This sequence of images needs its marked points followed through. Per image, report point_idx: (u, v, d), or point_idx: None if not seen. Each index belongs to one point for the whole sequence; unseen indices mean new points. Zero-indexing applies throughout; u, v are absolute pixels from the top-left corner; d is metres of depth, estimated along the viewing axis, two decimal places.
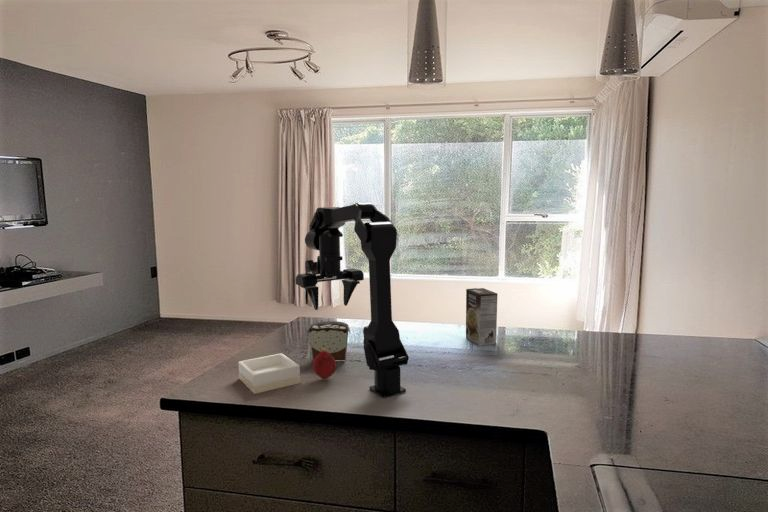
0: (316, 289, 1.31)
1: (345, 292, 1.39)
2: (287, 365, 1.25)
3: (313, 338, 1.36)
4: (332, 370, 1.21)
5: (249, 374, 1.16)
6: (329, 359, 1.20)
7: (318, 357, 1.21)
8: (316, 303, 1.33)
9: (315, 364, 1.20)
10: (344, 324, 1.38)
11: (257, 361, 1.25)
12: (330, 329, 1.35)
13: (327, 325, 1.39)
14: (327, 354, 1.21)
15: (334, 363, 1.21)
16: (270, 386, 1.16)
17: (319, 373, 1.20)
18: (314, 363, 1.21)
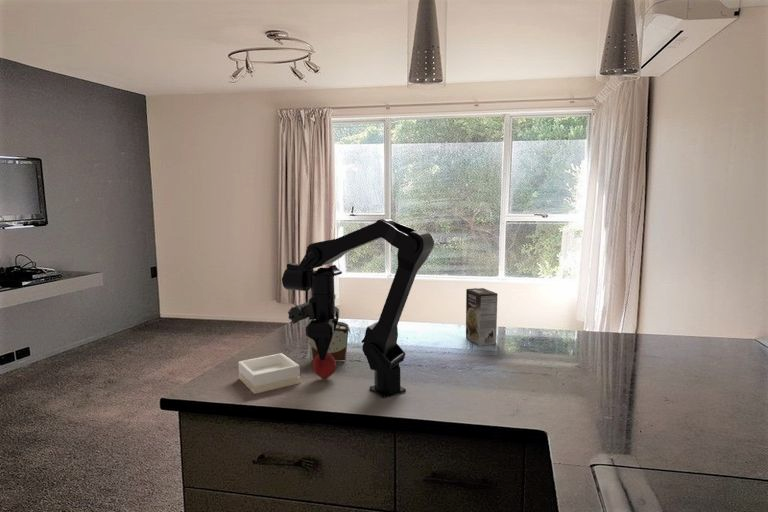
0: None
1: None
2: (287, 365, 1.25)
3: None
4: (332, 370, 1.21)
5: (249, 374, 1.16)
6: (329, 359, 1.20)
7: (318, 357, 1.21)
8: None
9: (315, 364, 1.20)
10: (344, 324, 1.38)
11: (257, 361, 1.25)
12: None
13: None
14: (327, 354, 1.21)
15: (334, 363, 1.21)
16: (270, 386, 1.16)
17: (319, 373, 1.20)
18: (314, 363, 1.21)
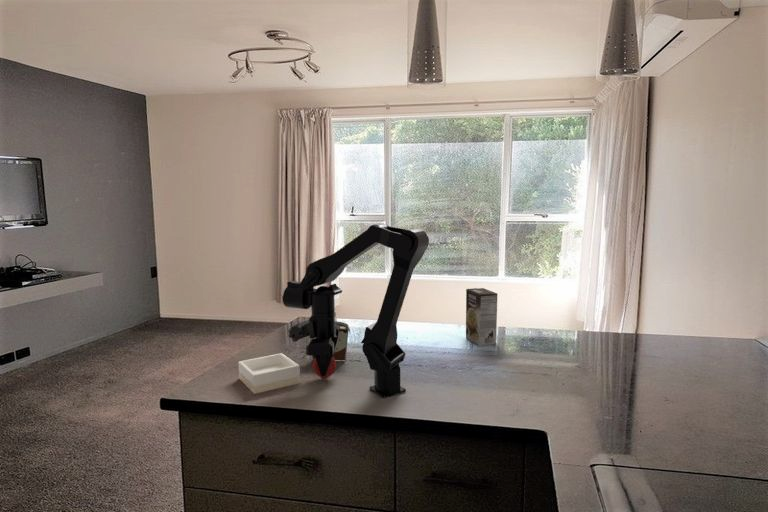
0: None
1: None
2: (287, 365, 1.25)
3: (313, 338, 1.36)
4: (332, 370, 1.21)
5: (249, 374, 1.16)
6: None
7: None
8: None
9: (315, 364, 1.20)
10: (344, 324, 1.38)
11: (257, 361, 1.25)
12: None
13: None
14: None
15: (334, 363, 1.21)
16: (270, 386, 1.16)
17: (319, 373, 1.20)
18: (314, 363, 1.21)
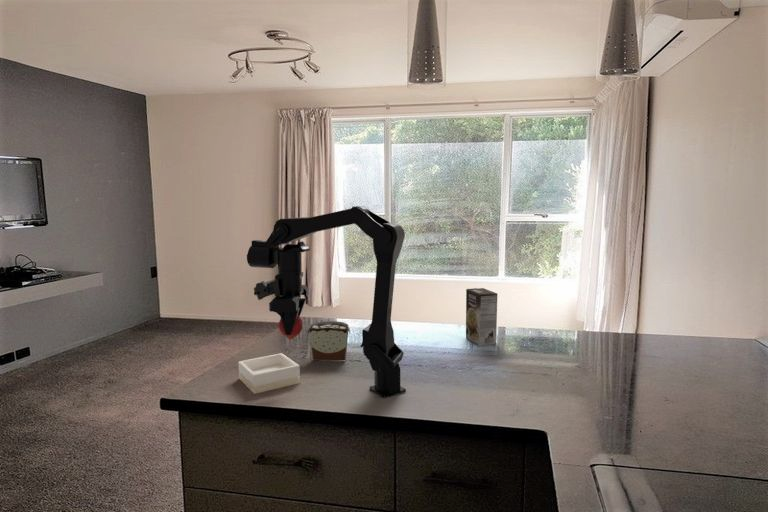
0: (298, 310, 1.16)
1: None
2: (287, 365, 1.25)
3: (313, 338, 1.36)
4: (298, 329, 1.19)
5: (249, 374, 1.16)
6: None
7: None
8: None
9: (281, 323, 1.19)
10: (344, 324, 1.38)
11: (257, 361, 1.25)
12: (330, 329, 1.35)
13: (327, 325, 1.39)
14: None
15: (300, 323, 1.20)
16: (270, 386, 1.16)
17: (284, 332, 1.19)
18: (280, 322, 1.19)
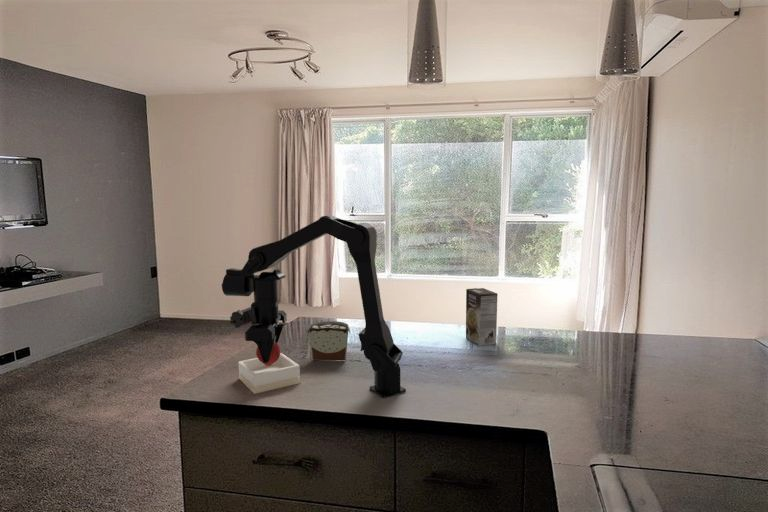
0: (275, 338, 1.16)
1: None
2: (287, 365, 1.25)
3: (313, 338, 1.36)
4: (275, 357, 1.19)
5: (249, 374, 1.16)
6: None
7: None
8: (270, 354, 1.18)
9: (258, 351, 1.19)
10: (344, 324, 1.38)
11: (257, 361, 1.25)
12: (330, 329, 1.35)
13: (327, 325, 1.39)
14: None
15: (277, 350, 1.20)
16: (270, 386, 1.16)
17: (262, 360, 1.19)
18: (257, 350, 1.20)
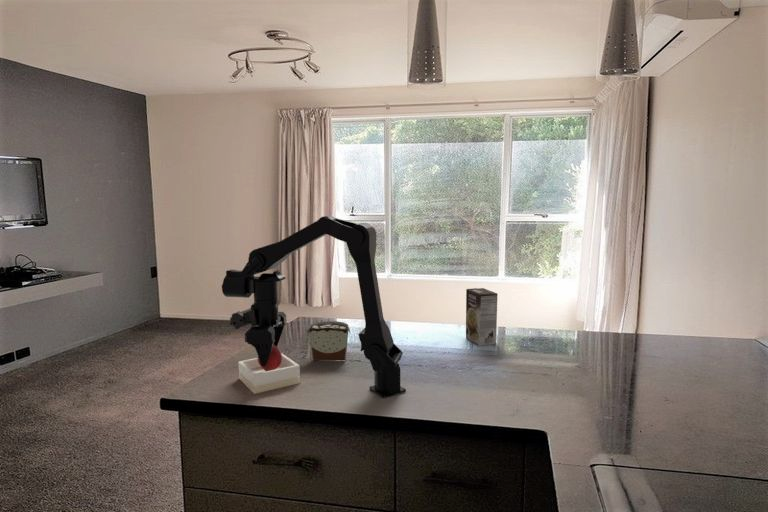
0: (273, 341, 1.15)
1: None
2: (287, 365, 1.25)
3: (313, 338, 1.36)
4: (276, 363, 1.20)
5: (249, 374, 1.16)
6: (274, 352, 1.20)
7: None
8: (268, 358, 1.16)
9: None
10: (344, 324, 1.38)
11: (257, 361, 1.25)
12: (330, 329, 1.35)
13: (327, 325, 1.39)
14: (274, 347, 1.21)
15: (279, 357, 1.21)
16: (270, 386, 1.16)
17: None
18: None
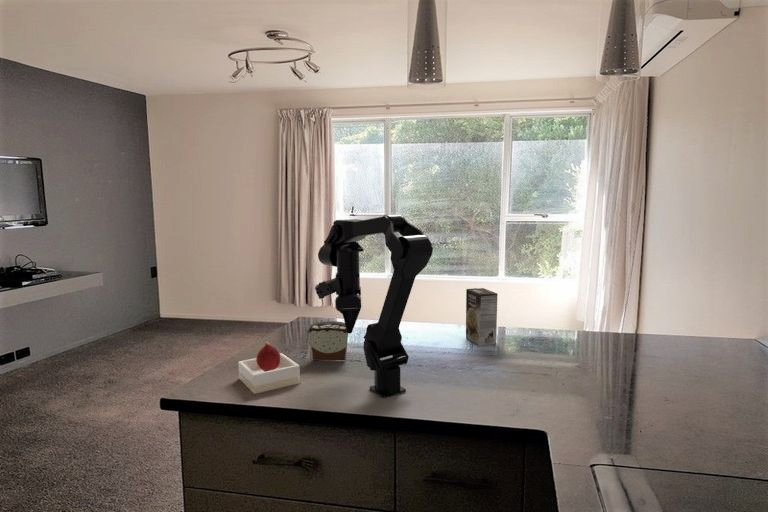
0: None
1: None
2: (287, 365, 1.25)
3: (313, 338, 1.36)
4: (275, 364, 1.20)
5: (249, 374, 1.16)
6: (272, 353, 1.19)
7: (261, 351, 1.20)
8: None
9: (258, 358, 1.19)
10: (344, 324, 1.38)
11: None
12: (330, 329, 1.35)
13: (327, 325, 1.39)
14: (271, 347, 1.20)
15: (278, 357, 1.20)
16: (270, 386, 1.16)
17: (262, 367, 1.19)
18: (257, 357, 1.20)
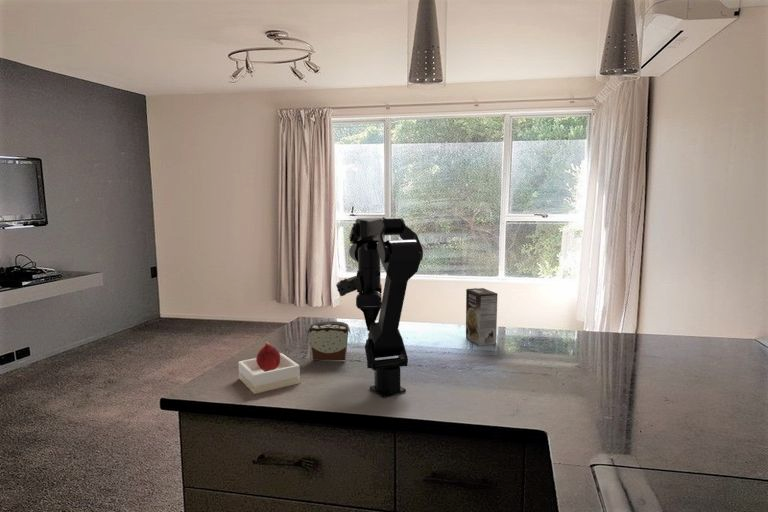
0: None
1: None
2: (287, 365, 1.25)
3: (313, 338, 1.36)
4: (275, 364, 1.20)
5: (249, 374, 1.16)
6: (272, 353, 1.19)
7: (261, 351, 1.20)
8: (374, 322, 1.22)
9: (258, 358, 1.19)
10: (344, 324, 1.38)
11: None
12: (330, 329, 1.35)
13: (327, 325, 1.39)
14: (271, 347, 1.20)
15: (278, 357, 1.20)
16: (270, 386, 1.16)
17: (262, 367, 1.19)
18: (257, 357, 1.20)
